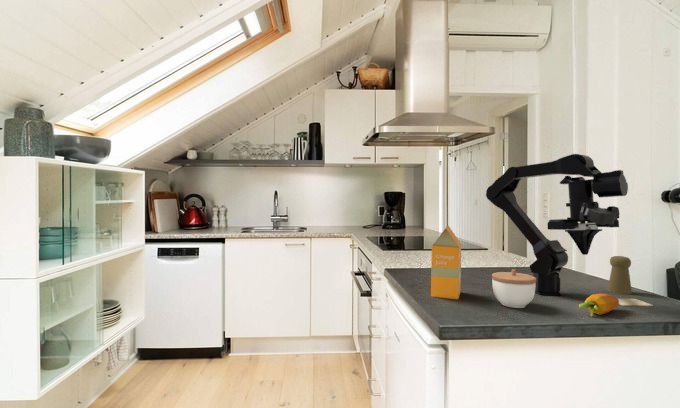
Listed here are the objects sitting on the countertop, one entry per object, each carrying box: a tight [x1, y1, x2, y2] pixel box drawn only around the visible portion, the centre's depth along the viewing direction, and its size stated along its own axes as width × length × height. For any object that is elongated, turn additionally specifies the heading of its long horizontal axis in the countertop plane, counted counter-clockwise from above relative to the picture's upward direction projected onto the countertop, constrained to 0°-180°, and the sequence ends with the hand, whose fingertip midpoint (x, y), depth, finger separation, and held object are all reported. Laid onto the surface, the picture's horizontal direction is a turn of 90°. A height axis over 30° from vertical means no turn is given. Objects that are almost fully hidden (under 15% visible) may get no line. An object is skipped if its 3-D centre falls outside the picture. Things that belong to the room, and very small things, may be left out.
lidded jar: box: [491, 269, 536, 309], centre depth 98 cm, size 11×11×9 cm
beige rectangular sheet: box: [617, 298, 654, 307], centre depth 101 cm, size 8×6×1 cm
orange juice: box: [430, 225, 462, 300], centre depth 108 cm, size 8×9×20 cm
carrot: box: [578, 293, 620, 318], centre depth 92 cm, size 5×5×15 cm
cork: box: [607, 255, 633, 295], centre depth 113 cm, size 6×6×11 cm
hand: (584, 254), depth 103 cm, fingers closed
